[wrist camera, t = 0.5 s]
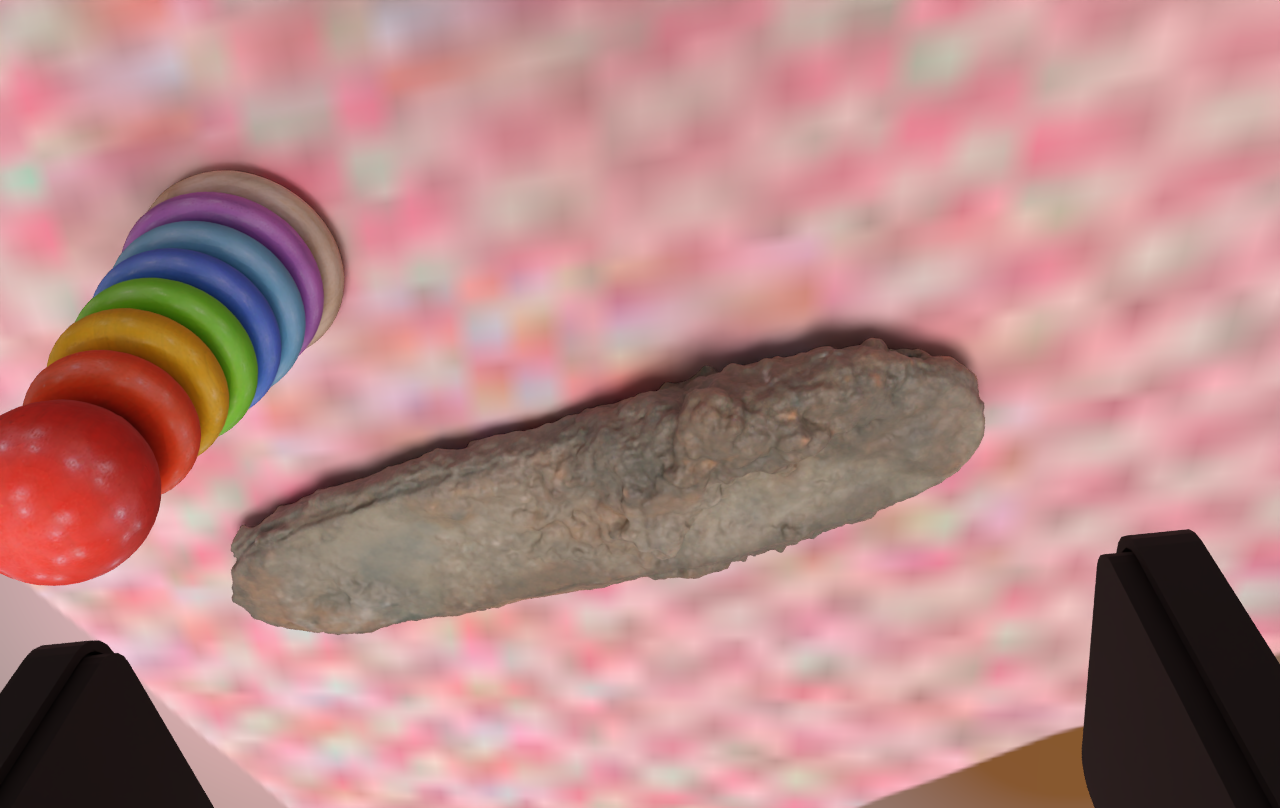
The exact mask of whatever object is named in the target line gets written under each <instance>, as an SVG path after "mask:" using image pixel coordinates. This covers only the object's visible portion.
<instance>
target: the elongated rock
mask: <svg viewBox="0 0 1280 808" xmlns="http://www.w3.org/2000/svg"><path fill="white" fill-rule="evenodd" d="M983 411H984V402H983V401H981V399H980V398H979V391H978V382H977V378H976V376H975V374H974V373H973V372H972V371H971V370H969V369H967V368H966V367H965V366H964V365H963V364H960V363H959V362H957V361H956V360H955V359H954V358H953V357H951V356H935V357H933V356H931V355H929V354H928V353H927V352H925V351H923V350H921V349H914V350H911V349H906V348H905V349H897V350H894V349H888V347H887V345H886V344H885V343H884V342H883V340H882V339H877V338H869V339H867V340H865V341H864V342H862V345H856V346H850V347H845V348H843V349H834V348H833V347H830V346H824V347H819V348H814V349H812V350H810V351H808V352H805V353H798V354H797V355H794V356H788V357H780V356H775V357H773V358H772V359H770V358H764V359H762V360H760V361H759V362H755V363H751V364H747V365H744V366H743V365H740V364H735V363H730V364H728V365H727V366H726V367H724V369H723V370H722V371H721V372H717V371H716V370H715V369H714V368H712V367H710V366H704V367H702V369H701V370H700V371H699V372H698V373H697V374H696V375H694V376H693V377H692V378H690V379H689V380H688V381H684V382H681V383H670V382H666V383H664V384H663V385H662V386H661V387H660V389H659V390H658V391H647V392H645V393H639V394H637V395H636V396H635V397H630V398H628V399H624V400H622V401H619V402H617V403H614V404H606V405H600V406H596V407H595V408H590V409H584V410H583V411H582V412H581V413H579V414H574V415H567V416H565V417H563V418H561V419H560V420H558V421H556V422H554V423H546V424H544V425H542V426H541V427H538V428H535V429H531V430H526V431H513V432H510V433H506V434H501V435H500V434H498V435H494V436H491V437H488V438H483V439H480V440H474V441H470V442H469V444H468V446H467V448H464V449H458V450H455V449H450V450H448V449H440V448H436V449H435V450H433V451H431V452H428V453H425V454H424V455H422V456H421V457H419V458H415V459H411V460H409V461H406V462H404V463H402V464H398V465H394V466H389V467H386V468H385V469H383V470H382V471H380V472H378V473H375V474H373V475H370V476H368V477H366V478H361V479H357V480H355V481H351V482H347V483H344V484H341V485H337V486H334V487H328V488H326V489H318V490H316V491H315V492H314V493H313V494H312V495H309V496H306V497H303V498H301V499H300V500H299V501H297V502H295V503H293V504H289V505H286V506H284V505H280V506H278V507H277V509H276V510H275V512H274V513H273V514H272V515H270V516H269V517H267V518H266V519H264V520H263V522H262V523H261V524H259V525H257V526H255V527H247V526H246V525H242V526H241V527H240V529H239V531H238V532H237V534H236V536H235V538H234V540H233V542H232V545H231V551H232V552H233V553H234V557H236V558H237V561H236V563H235V564H234V566H233V567H232V570H231V574H232V580H233V585H232V590H233V596H232V601H233V602H234V603H236V604H238V605H240V606H242V607H243V608H245V609H246V610H247V611H248V612H249V613H250V614H251V616H252V617H253V618H254V619H257V620H261V621H263V622H265V623H267V624H270V625H274V626H277V627H280V626H281V627H285V628H288V629H295V630H303V631H309V632H314V633H315V632H316V633H320V632H325V633H328V634H336V635H340V634H353V633H356V634H358V633H360V634H363V633H371V632H374V631H376V630H378V629H380V628H383V627H387V626H389V625H392V624H398V623H401V622H406V621H410V620H412V621H418V620H421V619H428V618H433V617H446V616H459V615H463V614H466V613H471V612H476V611H484V610H486V609H490V608H499V607H501V606H504V605H506V604H509V603H514V602H517V601H521V600H525V599H529V598H531V599H532V598H538V597H546V596H550V595H557V594H563V593H569V592H574V591H579V590H592V589H597V588H605V587H607V586H610V585H612V584H618V583H621V582H624V581H629V580H635V579H637V578H640V577H649V578H651V579H653V580H658V579H667V578H678V577H680V578H687V579H689V578H693V579H696V578H700V577H702V576H704V575H707V574H710V573H713V572H719V571H722V570H724V569H728V567H729V565H730V563H731V562H735V561H743V562H745V561H746V559H747V557H748V556H749V555H752V556H756V555H759V554H762V553H765V552H767V551H769V550H776V551H778V552H780V553H781V552H783V551H784V549H785V548H786V546H789V545H795V544H797V543H798V542H800V541H801V540H805V539H814V538H815V537H816V536H817V535H819V534H821V533H822V532H826V531H829V530H831V529H835V528H837V527H841V526H843V525H845V524H854V523H857V522H861V521H865V520H867V519H871V518H872V517H874V515H875V514H876V513H877V511H879V510H881V509H885V508H886V507H888V506H892V505H894V504H895V503H897V502H901V501H904V500H906V499H908V498H911V497H914V496H916V495H918V494H919V493H921V492H923V491H925V490H927V489H928V488H930V487H933V486H935V485H937V484H940V483H941V482H943V481H944V480H945V479H946V478H948V477H950V476H952V475H953V474H955V473H956V472H958V471H959V470H960V468H961V467H962V466H963V465H964V464H965V463H966V462H967V461H968V460H969V459H970V458H971V456H972V455H973V454H974V452H975V451H976V449H977V448H978V447H979V445H980V443H981V440H982V438H983V436H984V429H985V417H984V414H983Z"/></svg>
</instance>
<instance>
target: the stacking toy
mask: <svg viewBox="0 0 1280 808" xmlns="http://www.w3.org/2000/svg"><path fill="white" fill-rule="evenodd" d="M343 290H344V271H343V264H342V260H341V256H340V253H339V250H338V247H337V245H336V242H335V240H334V238H333V236H332V234H331V233H330V231H329V229H328V227H327V226H326V225H325V223H324V222H323V220H322V219H321V218H320V217H319V216H318V214H317V213H316V212H315V211H314V210H313V209H312V208H311V207H310V206H309V205H308V204H307V203H306V202H305V201H303V200H302V199H301V198H300V197H299V196H297V195H296V194H294V193H293V192H291V191H290V190H288V189H287V188H285V187H283V186H281V185H279V184H277V183H275V182H273V181H271V180H269V179H266V178H263V177H260V176H257V175H254V174H250V173H246V172H240V171H229V170H221V171H210V172H205V173H200V174H197V175H194V176H191V177H188V178H186V179H184V180H181V181H179V182H178V183H176V184H174V185H173V186H171V187H170V188H168V189H167V190H165V191H164V192H163V193H162V194H161V195H160V196H159V197H158V198H157V199H156V201H155V202H154V203H153V204H152V205H151V207H150V209H149V210H148V212H147V213H145V214H144V215H143V216H142V217H141V218H140V219H139V220H138V221H137V222H136V224H135V225H134V227H133V228H132V230H131V231H130V233H129V235H128V237H127V239H126V241H125V244H124V247H123V250H122V254H121V255H120V256H119V257H118V259H117V261H116V263H115V265H114V267H113V269H111V270H110V271H109V272H108V274H107V275H106V276H105V277H104V278H103V280H102V281H101V282H100V284H99V285H98V287H97V289H96V291H95V294H94V296H93V298H92V299H91V300H90V301H89V302H88V303H87V305H86V306H85V307H84V308H83V309H82V311H81V312H80V314H79V316H78V317H77V319H76V321H75V323H73V324H72V325H71V326H70V327H69V328H68V329H67V330H66V331H65V332H64V333H63V334H62V335H61V336H60V337H59V339H58V340H57V342H56V343H55V345H54V347H53V349H52V351H51V353H50V355H49V359H48V363H47V367H46V368H45V369H44V370H43V371H41V372H40V373H39V374H38V375H37V377H36V378H35V379H34V381H33V382H32V383H31V385H30V387H29V389H28V391H27V393H26V396H25V399H24V402H23V406H20V407H18V408H15V409H13V410H11V411H9V412H6V413H4V414H2V415H0V573H1V574H3V575H5V576H7V577H10V578H12V579H16V580H19V581H22V582H25V583H30V584H36V585H51V586H56V585H69V584H75V583H80V582H84V581H87V580H90V579H93V578H95V577H98V576H101V575H103V574H105V573H107V572H109V571H111V570H113V569H115V568H116V567H117V566H119V565H120V564H121V563H123V562H124V561H125V560H127V559H128V558H129V557H130V556H131V555H132V554H133V553H134V552H135V551H136V550H137V549H138V548H139V547H140V546H141V544H142V543H143V542H144V540H145V539H146V538H147V536H148V534H149V532H150V530H151V528H152V527H153V525H154V523H155V520H156V517H157V514H158V511H159V507H160V501H161V494H163V493H166V492H167V491H169V490H171V489H172V488H174V487H175V486H176V485H177V484H178V483H180V482H181V481H182V480H183V479H184V478H185V477H186V475H187V474H188V473H189V471H190V470H191V469H192V467H193V465H194V463H195V461H196V458H197V456H199V455H200V454H202V453H203V452H204V451H205V450H207V449H208V448H209V447H210V446H211V445H212V444H213V442H214V441H215V440H216V438H217V437H218V436H220V435H222V434H224V433H225V432H227V431H228V430H230V429H231V428H232V427H233V426H235V425H236V424H237V423H238V422H239V421H240V420H241V419H242V418H243V416H244V415H245V413H246V412H247V410H248V409H249V408H251V407H252V406H253V405H255V404H256V403H257V402H258V401H259V400H260V399H261V398H262V397H263V396H264V395H265V394H266V392H267V391H268V390H269V388H270V387H271V386H273V385H274V384H275V383H277V382H278V381H279V380H280V379H281V378H282V377H283V376H285V374H286V373H287V372H288V371H289V370H290V369H291V367H292V366H293V364H294V363H295V361H296V360H297V358H298V356H299V355H300V354H301V353H302V352H303V351H304V350H305V349H306V348H308V347H309V346H311V345H312V344H313V343H315V342H316V341H317V340H318V339H319V338H321V337H322V336H323V335H324V333H325V332H326V331H327V330H328V329H329V327H330V326H331V325H332V323H333V321H334V319H335V317H336V316H337V313H338V311H339V308H340V305H341V302H342V297H343Z"/></svg>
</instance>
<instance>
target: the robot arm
mask: <svg viewBox="0 0 1280 808" xmlns="http://www.w3.org/2000/svg"><path fill="white" fill-rule="evenodd" d="M1082 764H1083V770H1084V776H1085V780H1086V784H1087V788H1088V791H1089V794H1090V797H1091V799H1092V802H1093V804H1094V807H1095V808H1280V664H1279V662H1278V661H1277V659H1276V657H1275V656H1274V654H1273V653H1272V651H1271V650H1270V648H1269V646H1268V645H1267V643H1266V642H1265V640H1264V638H1263V637H1262V635H1261V634H1260V632H1259V631H1258V629H1257V627H1256V626H1255V624H1254V623H1253V621H1252V619H1251V618H1250V616H1249V615H1248V613H1247V612H1246V610H1245V608H1244V607H1243V605H1242V604H1241V602H1240V601H1239V599H1238V597H1237V596H1236V594H1235V593H1234V591H1233V589H1232V588H1231V586H1230V585H1229V583H1228V582H1227V580H1226V578H1225V577H1224V575H1223V574H1222V572H1221V570H1220V569H1219V567H1218V566H1217V564H1216V563H1215V561H1214V559H1213V558H1212V556H1211V555H1210V553H1209V552H1208V550H1207V548H1206V547H1205V545H1204V544H1203V542H1202V540H1201V539H1200V538H1199V537H1198V536H1197V534H1196V533H1195V532H1193V531H1191V530H1189V529H1187V530H1177V531H1167V532H1157V533H1147V534H1138V535H1128V536H1123V537H1121V539H1120V541H1119V542H1118V547H1117V552H1116V553H1113V554H1103V555H1100V557H1099V559H1098V563H1097V572H1096V584H1095V596H1094V608H1093V621H1092V633H1091V645H1090V657H1089V669H1088V681H1087V693H1086V705H1085V717H1084V729H1083V741H1082ZM0 808H214V807H213V805H212V803H211V802H210V800H209V798H208V797H207V795H206V793H205V791H204V790H203V788H202V786H201V785H200V783H199V781H198V780H197V778H196V776H195V774H194V773H193V771H192V769H191V768H190V766H189V764H188V763H187V761H186V759H185V758H184V756H183V754H182V752H181V751H180V749H179V747H178V746H177V744H176V742H175V741H174V739H173V737H172V735H171V734H170V732H169V730H168V729H167V727H166V725H165V723H164V722H163V720H162V718H161V717H160V715H159V713H158V711H157V710H156V708H155V706H154V705H153V703H152V701H151V700H150V698H149V696H148V694H147V693H146V691H145V689H144V688H143V686H142V684H141V683H140V681H139V679H138V677H137V676H136V674H135V672H134V671H133V669H132V667H131V666H130V664H129V662H128V661H127V660H126V658H125V657H124V656H122V655H121V654H119V653H114V652H113V651H112V650H111V649H110V647H109V646H108V645H107V644H105V643H103V642H101V641H82V642H73V643H62V644H52V645H43V646H40V647H38V648H36V649H34V650H32V651H31V653H29V654H28V655H27V657H26V658H25V659H24V660H23V662H22V663H21V664H20V666H19V667H18V669H17V670H16V672H15V673H14V674H13V676H12V677H11V679H10V680H9V682H8V683H7V684H6V686H5V688H4V689H3V690H2V692H1V693H0Z"/></svg>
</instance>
